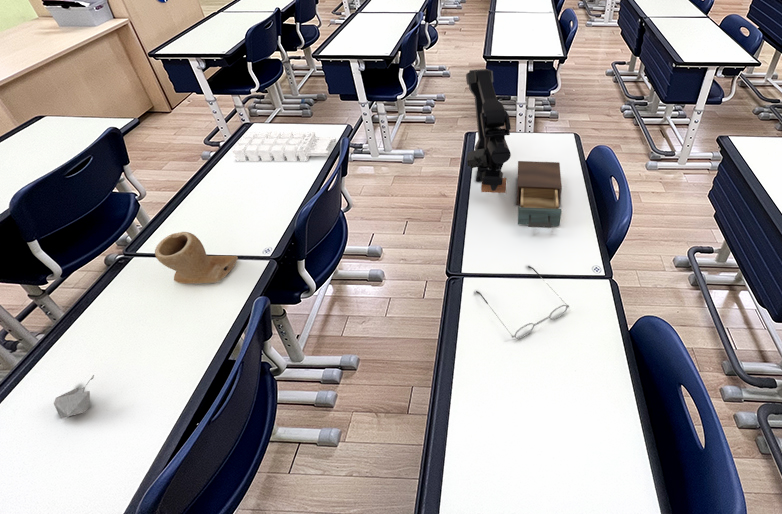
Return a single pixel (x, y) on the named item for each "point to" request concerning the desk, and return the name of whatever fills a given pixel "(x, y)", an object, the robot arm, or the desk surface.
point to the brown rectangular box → (498, 190)
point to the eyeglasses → (532, 323)
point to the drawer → (539, 208)
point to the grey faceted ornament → (72, 402)
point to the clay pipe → (192, 259)
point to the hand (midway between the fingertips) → (494, 185)
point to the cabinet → (538, 177)
